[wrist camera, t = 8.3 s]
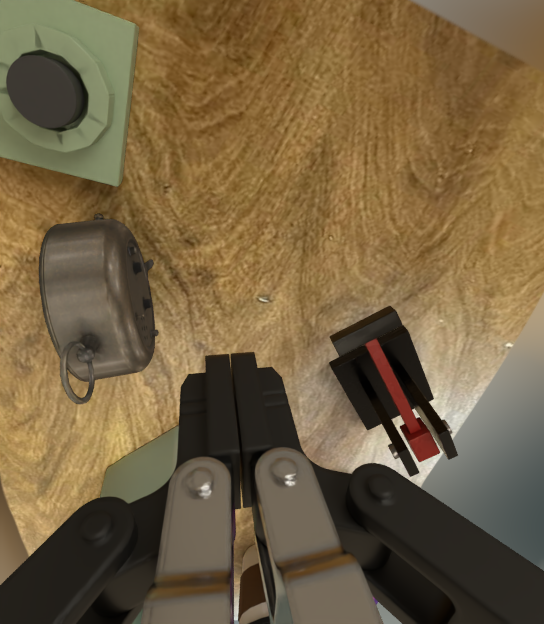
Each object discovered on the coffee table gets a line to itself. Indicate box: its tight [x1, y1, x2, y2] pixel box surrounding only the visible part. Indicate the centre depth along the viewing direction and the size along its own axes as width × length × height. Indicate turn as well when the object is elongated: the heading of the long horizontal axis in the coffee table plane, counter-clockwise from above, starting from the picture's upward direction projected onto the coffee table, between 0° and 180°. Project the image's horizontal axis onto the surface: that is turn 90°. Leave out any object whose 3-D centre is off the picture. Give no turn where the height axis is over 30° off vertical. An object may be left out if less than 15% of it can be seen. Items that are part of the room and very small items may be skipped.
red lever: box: [330, 306, 440, 462], centre depth 35 cm, size 15×6×2 cm, turn 27°
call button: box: [6, 55, 84, 128], centre depth 22 cm, size 4×4×2 cm
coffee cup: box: [238, 545, 270, 624], centre depth 55 cm, size 11×11×12 cm
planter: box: [100, 426, 179, 624], centre depth 37 cm, size 16×8×20 cm, turn 165°
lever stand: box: [329, 326, 458, 477], centre depth 40 cm, size 12×9×11 cm
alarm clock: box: [39, 213, 158, 404], centre depth 25 cm, size 11×5×16 cm, turn 3°
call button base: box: [0, 0, 139, 187], centre depth 24 cm, size 10×8×4 cm
